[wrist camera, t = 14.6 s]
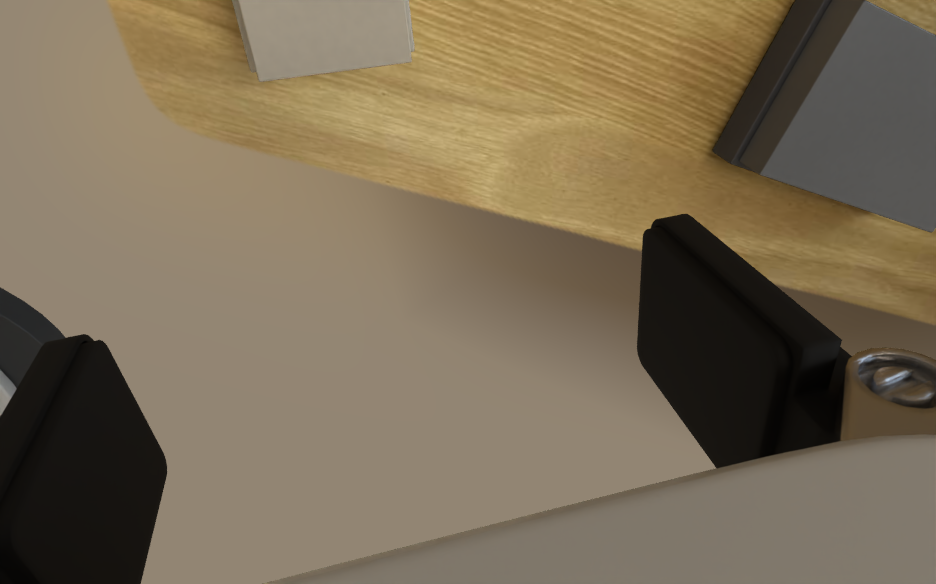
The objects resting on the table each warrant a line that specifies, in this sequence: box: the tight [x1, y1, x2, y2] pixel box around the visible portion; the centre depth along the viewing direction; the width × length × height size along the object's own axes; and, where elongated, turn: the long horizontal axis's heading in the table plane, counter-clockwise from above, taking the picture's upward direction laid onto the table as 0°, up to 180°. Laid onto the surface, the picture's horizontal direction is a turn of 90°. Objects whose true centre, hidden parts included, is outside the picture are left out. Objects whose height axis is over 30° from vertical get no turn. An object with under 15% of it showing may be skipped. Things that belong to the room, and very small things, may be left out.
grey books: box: [713, 0, 936, 232], centre depth 38 cm, size 15×10×4 cm, turn 70°
